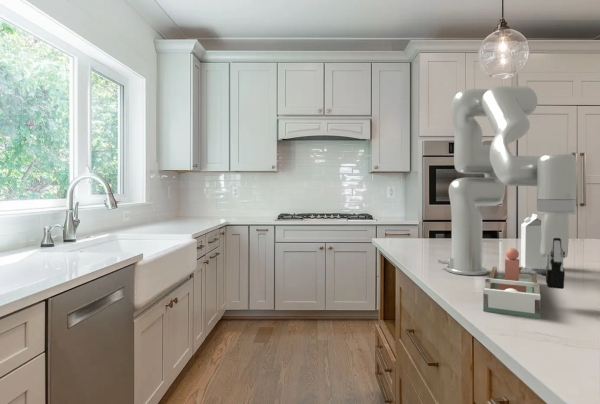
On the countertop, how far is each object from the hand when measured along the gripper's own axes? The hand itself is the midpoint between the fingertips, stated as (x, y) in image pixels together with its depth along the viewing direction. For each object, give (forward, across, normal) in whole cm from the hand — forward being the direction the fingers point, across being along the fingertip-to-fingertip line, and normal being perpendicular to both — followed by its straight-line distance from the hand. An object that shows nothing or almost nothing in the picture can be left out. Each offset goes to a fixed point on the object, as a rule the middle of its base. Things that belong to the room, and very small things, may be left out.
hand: (554, 285), depth 90 cm
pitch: (+5, -7, -9) cm, 12 cm away
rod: (+4, 0, -5) cm, 6 cm away
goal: (+4, +8, -9) cm, 13 cm away
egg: (+2, +7, -9) cm, 12 cm away
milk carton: (+6, -51, -3) cm, 51 cm away
